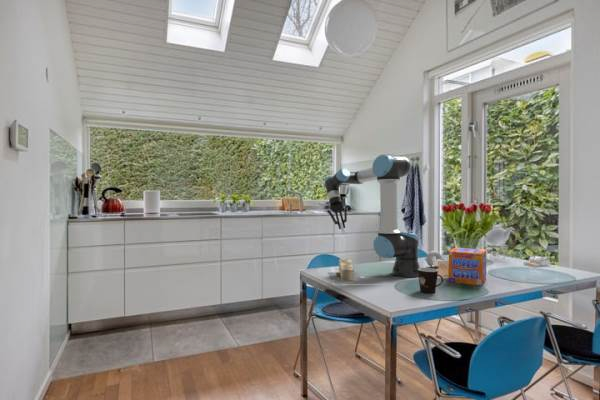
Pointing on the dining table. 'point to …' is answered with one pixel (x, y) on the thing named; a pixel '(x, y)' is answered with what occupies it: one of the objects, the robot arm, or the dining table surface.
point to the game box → (467, 266)
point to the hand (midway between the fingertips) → (343, 233)
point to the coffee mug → (428, 280)
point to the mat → (337, 276)
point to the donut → (431, 255)
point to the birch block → (346, 269)
